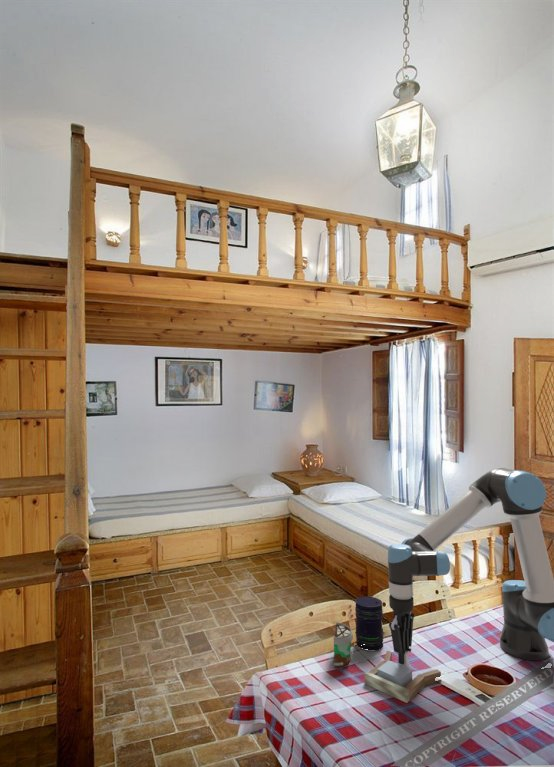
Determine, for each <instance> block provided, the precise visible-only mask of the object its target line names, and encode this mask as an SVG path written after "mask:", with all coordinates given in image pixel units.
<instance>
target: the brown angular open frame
mask: <svg viewBox="0 0 554 767" xmlns="http://www.w3.org/2000/svg"><path fill="white" fill-rule="evenodd" d="M392 658H393V657H392V651H391V650H390V651H389V650H386V653H385V656H384V660H383V661H381V662H380V663H378V664H377V665H376V666H374V667H373V668H372V669H370V670H369V671H367V670H366V671H365V672H364V673H363V674H364V684H365V685H367V686H369V687H371V688H373V689H376V690H378V691H380V692H382V693H384V694H386V695H388V696H391V697H392V698H395V699H398V700H400V701H401V702H404V703H406V704H408V702H410V701H411V700H412V699H413V698H414V697H415V696H416V695H417V694H418V693H419V692H420V691H421V690H423V688H424V687H425V686H427V685H430V684H434V683H437V682H436V681H435V678H436V677H440V676H441V677H442V673H441V671H440V670H439V669H438V668H436V669H432V670H430V671H426V672H422V673H419V674H417V675H416V676H415V677H413V678H412V681H411V682H410V683H408V684H407V685H406V686H405V687H402V686H399V685H397V684H395V683H393V682H390V681H388V680H386V679H384V678H381V677H379V676H377V669H378V668H379V667H380V666H382V665H383V664H385V663H386V662H387V661H392V660H393V659H392Z"/></svg>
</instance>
